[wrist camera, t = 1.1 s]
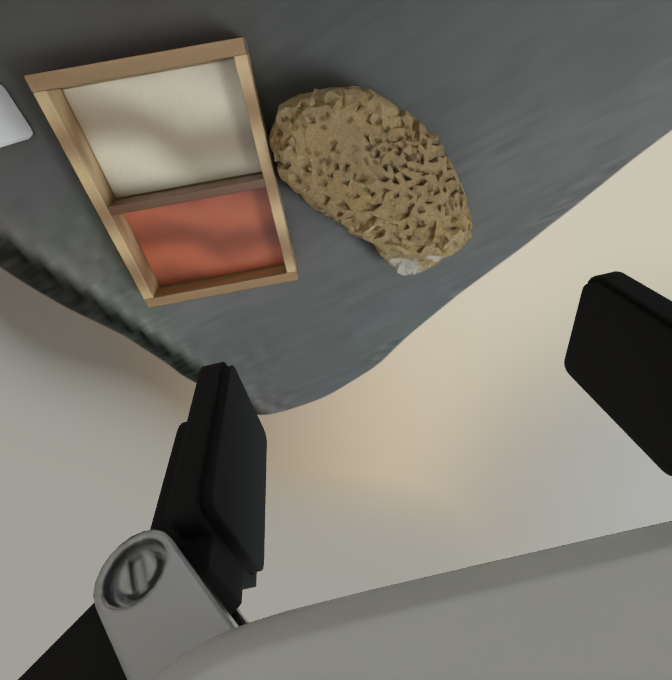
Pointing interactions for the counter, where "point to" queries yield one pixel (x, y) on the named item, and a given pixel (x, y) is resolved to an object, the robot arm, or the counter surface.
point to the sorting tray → (176, 167)
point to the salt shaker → (11, 121)
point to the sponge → (373, 174)
